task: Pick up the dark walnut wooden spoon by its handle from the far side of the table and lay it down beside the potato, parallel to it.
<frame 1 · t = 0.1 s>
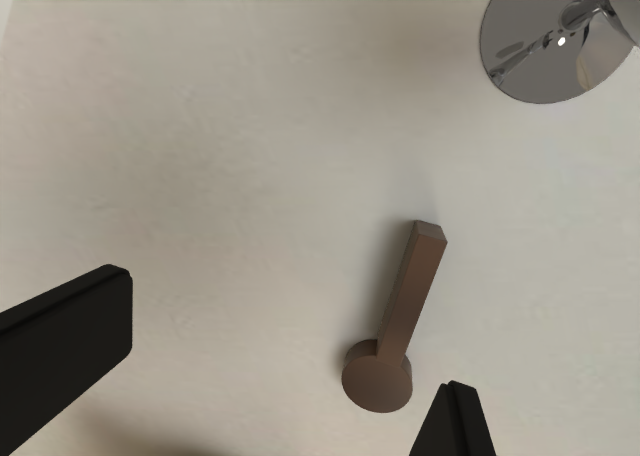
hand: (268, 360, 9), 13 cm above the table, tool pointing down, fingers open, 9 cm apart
wooden spoon: (394, 319, 23), on the table
wine glass: (556, 28, 16), on the table
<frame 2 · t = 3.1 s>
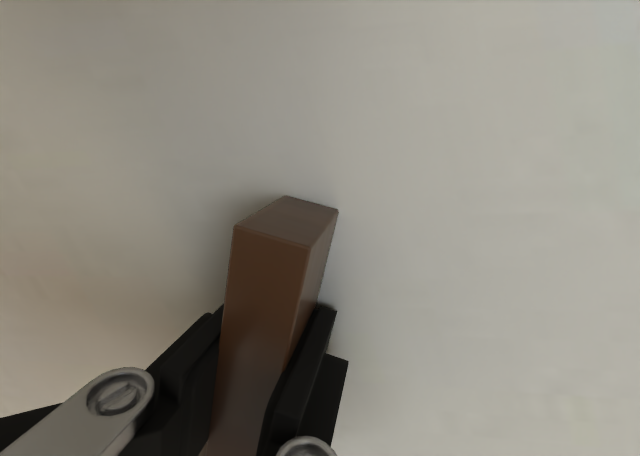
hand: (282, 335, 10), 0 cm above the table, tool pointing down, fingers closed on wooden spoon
wooden spoon: (270, 399, 11), on the table, touching gripper
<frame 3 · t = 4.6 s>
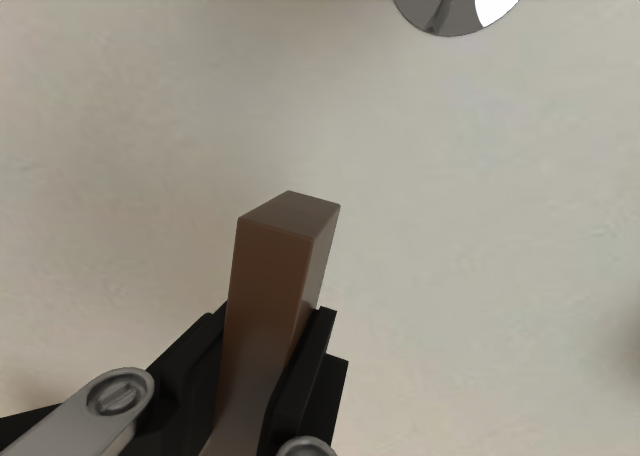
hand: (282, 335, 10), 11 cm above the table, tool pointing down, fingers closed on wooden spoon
wooden spoon: (272, 393, 11), point 11 cm above the table, touching gripper
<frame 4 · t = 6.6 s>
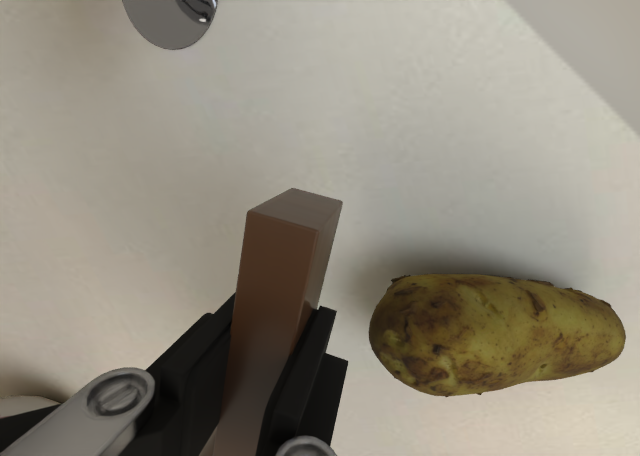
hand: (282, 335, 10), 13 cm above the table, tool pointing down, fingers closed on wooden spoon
wooden spoon: (275, 386, 12), point 12 cm above the table, touching gripper
chamber pot: (70, 442, 39), on the table
potato: (473, 297, 21), on the table
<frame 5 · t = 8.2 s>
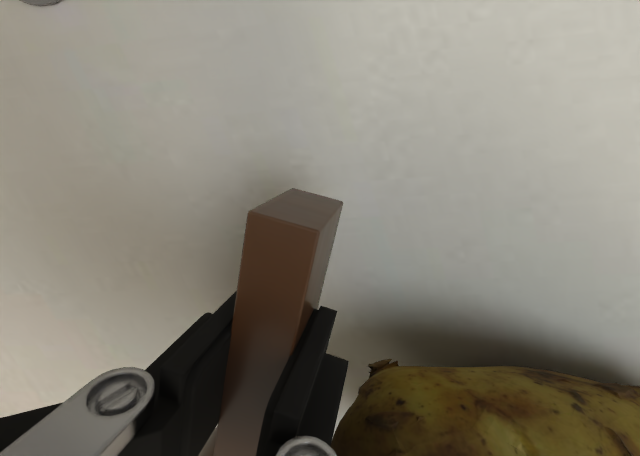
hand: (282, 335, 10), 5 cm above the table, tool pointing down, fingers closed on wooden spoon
wooden spoon: (275, 387, 12), point 4 cm above the table, touching gripper
potato: (493, 379, 14), on the table
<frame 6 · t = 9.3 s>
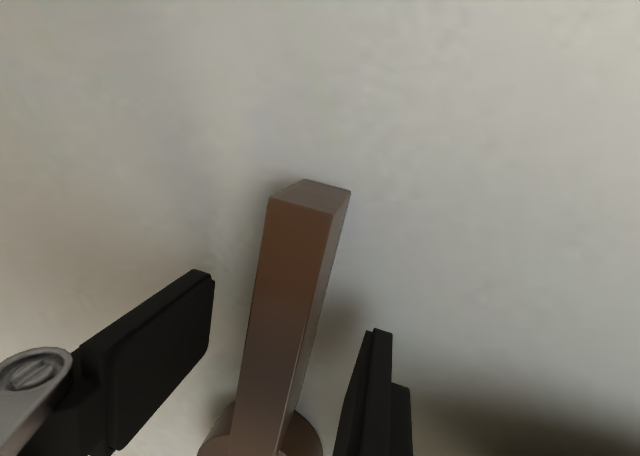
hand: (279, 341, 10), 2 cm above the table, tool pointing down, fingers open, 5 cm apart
wooden spoon: (286, 365, 13), on the table
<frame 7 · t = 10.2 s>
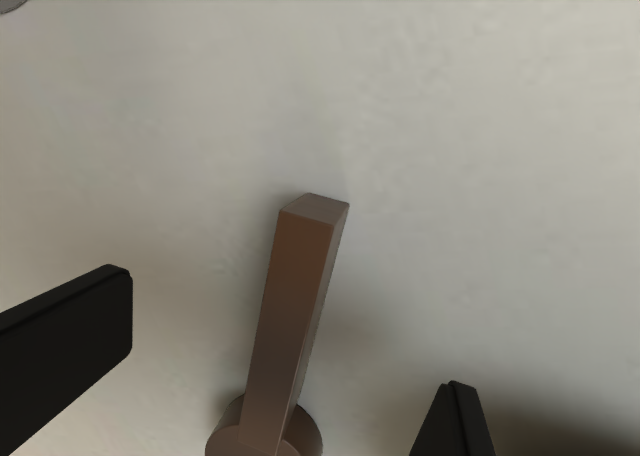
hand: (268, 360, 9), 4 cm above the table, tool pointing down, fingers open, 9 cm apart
wooden spoon: (289, 361, 14), on the table
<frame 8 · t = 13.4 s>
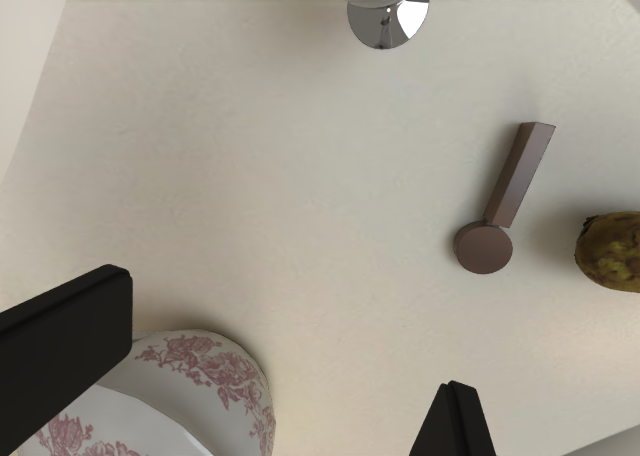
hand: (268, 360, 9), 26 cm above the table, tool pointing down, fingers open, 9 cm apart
wooden spoon: (497, 203, 31), on the table
chamber pot: (217, 373, 47), on the table
wine glass: (387, 5, 28), on the table
potato: (627, 241, 29), on the table
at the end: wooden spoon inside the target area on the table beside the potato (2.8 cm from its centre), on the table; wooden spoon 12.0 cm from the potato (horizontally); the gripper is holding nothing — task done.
